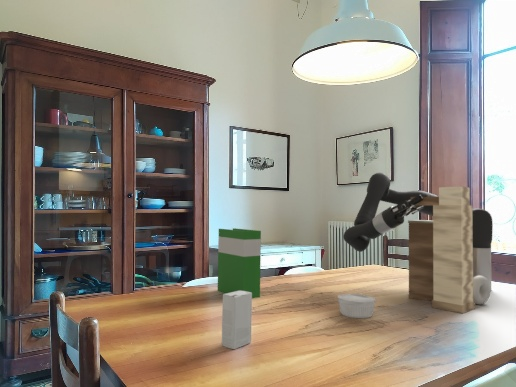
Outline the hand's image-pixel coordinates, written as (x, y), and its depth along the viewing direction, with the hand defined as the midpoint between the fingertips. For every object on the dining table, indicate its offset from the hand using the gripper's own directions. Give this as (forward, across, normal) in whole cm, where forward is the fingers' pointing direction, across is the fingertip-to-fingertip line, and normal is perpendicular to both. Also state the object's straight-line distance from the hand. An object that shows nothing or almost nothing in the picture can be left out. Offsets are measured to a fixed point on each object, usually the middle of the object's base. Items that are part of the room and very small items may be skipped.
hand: (425, 197), depth 138 cm
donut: (-7, +13, +38) cm, 41 cm away
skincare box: (-25, -78, +28) cm, 86 cm away
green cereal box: (-63, -43, +6) cm, 76 cm away
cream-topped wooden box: (-21, +10, +30) cm, 38 cm away
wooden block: (-10, 0, +36) cm, 38 cm away
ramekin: (-24, -32, +29) cm, 50 cm away
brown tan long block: (+2, 0, +5) cm, 5 cm away
